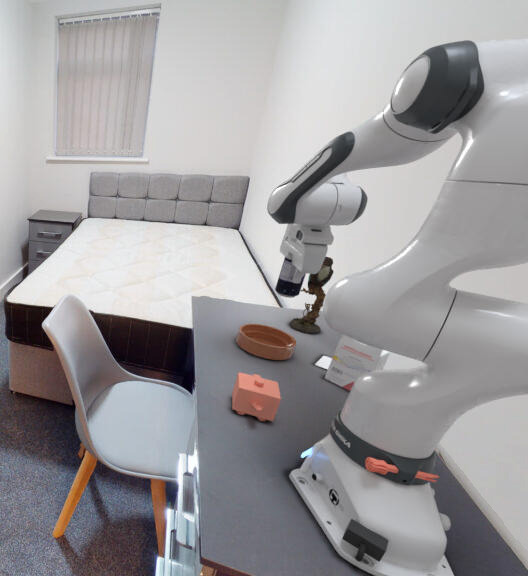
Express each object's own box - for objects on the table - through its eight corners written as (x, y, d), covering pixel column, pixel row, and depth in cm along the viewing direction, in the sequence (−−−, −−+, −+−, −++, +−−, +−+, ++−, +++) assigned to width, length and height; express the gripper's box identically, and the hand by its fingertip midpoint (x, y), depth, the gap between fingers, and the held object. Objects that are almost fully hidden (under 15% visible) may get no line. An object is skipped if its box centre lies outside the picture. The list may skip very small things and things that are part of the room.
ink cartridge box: (373, 392, 92) (397, 341, 86) (362, 397, 90) (386, 345, 84) (333, 373, 99) (354, 325, 93) (323, 378, 97) (343, 328, 91)
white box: (314, 364, 102) (315, 362, 102) (323, 355, 107) (324, 353, 107) (351, 378, 96) (352, 376, 96) (359, 368, 101) (360, 366, 101)
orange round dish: (298, 365, 102) (303, 351, 100) (241, 355, 106) (245, 342, 104) (282, 341, 114) (287, 328, 113) (231, 332, 119) (235, 320, 117)
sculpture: (280, 329, 121) (304, 257, 112) (296, 318, 129) (320, 250, 120) (309, 340, 115) (337, 264, 106) (325, 328, 123) (352, 256, 114)
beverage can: (302, 299, 102) (316, 258, 97) (279, 297, 103) (292, 257, 98) (292, 291, 107) (305, 252, 102) (270, 290, 108) (282, 250, 104)
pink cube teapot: (231, 421, 81) (240, 391, 78) (231, 391, 91) (239, 363, 88) (273, 434, 78) (284, 403, 75) (268, 401, 87) (278, 372, 84)
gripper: (281, 220, 108) (268, 265, 113) (306, 237, 90) (289, 289, 95) (307, 222, 106) (292, 267, 111) (337, 240, 88) (318, 293, 93)
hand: (291, 278), depth 103 cm, fingers closed on beverage can, 5 cm apart
